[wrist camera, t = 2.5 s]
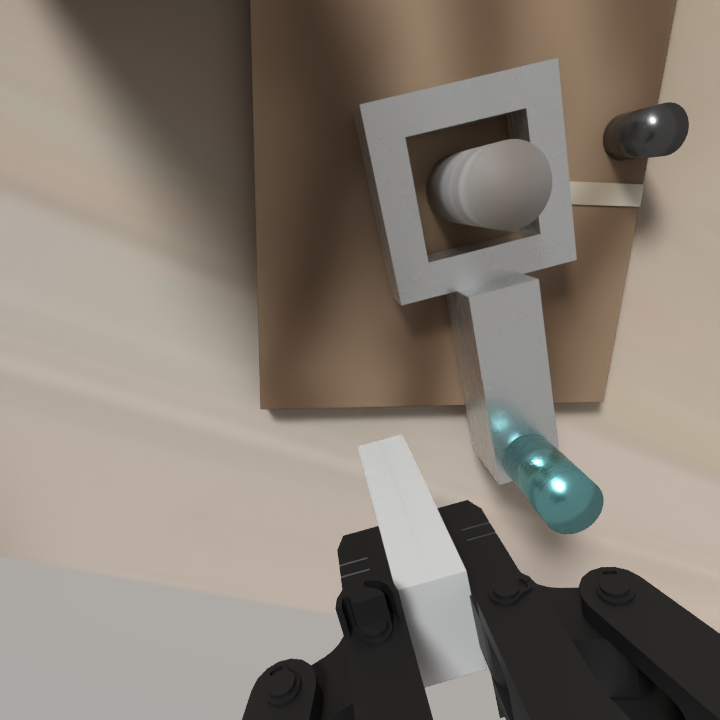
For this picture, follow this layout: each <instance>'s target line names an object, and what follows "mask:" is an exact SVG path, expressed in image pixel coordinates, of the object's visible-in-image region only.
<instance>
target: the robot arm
mask: <svg viewBox="0 0 720 720" xmlns="http://www.w3.org/2000/svg"><path fill="white" fill-rule="evenodd" d="M358 449H359V453H360V457H361V461H362V465H363V469H364V472H365V476H366V480H367V484H368V488H369V492H370V495H371V499H372V503H373V507H374V511H375V515H376V518H377V522H378V526H377V527H374V528H370V529H366V530H363V531H359V532H356V533H352V534H348V535H345V536H343V538H342V540H341V543H340V545H339V548H338V558H339V565H340V574H341V582H342V592H341V593H340V595H339V596H338V598H337V602H336V612H337V615H338V618H339V621H340V625H341V628H342V631H343V634H344V637H343V638H342V640H341V642H340V643H339V645H338V646H337V647H336V648H335V649H334V650H333V651H332V652H331V653H330V654H328V655H327V656H326V657H324V658H323V659H321V660H319V661H318V662H316V663H315V664H313V665H310V664H308V663H306V662H305V661H303V660H298V659H288V660H284V661H280V662H278V663H276V664H274V665H273V666H271V667H270V668H268V669H267V670H266V671H265V672H264V673H263V674H262V675H261V676H260V677H259V678H258V679H257V681H256V683H255V685H254V687H253V689H252V691H251V694H250V697H249V700H248V703H247V706H246V710H245V713H244V715H243V719H242V720H433V718H432V714H431V710H430V707H429V703H428V700H427V696H426V692H425V689H424V688H425V687H427V686H431V685H435V684H438V683H441V682H445V681H448V680H452V679H455V678H459V677H462V676H465V675H469V674H472V673H475V672H479V671H482V670H486V665H485V660H486V662H487V665H488V667H489V670H490V672H491V675H492V680H493V685H494V690H495V695H496V700H497V705H498V710H499V715H500V718H502V717H505V718H506V720H720V634H719V633H718V632H717V631H715V630H714V629H712V628H711V627H710V626H708V625H707V624H705V623H704V622H703V621H701V620H700V619H698V618H697V617H696V616H694V615H693V614H692V613H690V612H689V611H687V610H686V609H685V608H683V607H682V606H680V605H679V604H678V603H676V602H675V601H673V600H672V599H671V598H669V597H668V596H666V595H665V594H664V593H662V592H661V591H660V590H658V589H657V588H655V587H654V586H653V585H651V584H650V583H648V582H647V581H646V580H644V579H643V578H641V577H640V576H638V575H636V574H634V573H632V572H630V571H629V570H625V569H621V568H616V567H601V568H598V569H595V570H591V571H589V572H588V573H587V574H586V575H585V576H583V577H582V579H581V582H580V585H579V588H551V587H546V586H542V585H538V584H536V583H535V582H534V581H533V580H532V579H531V578H530V577H529V576H527V575H525V574H522V573H521V572H520V571H519V570H518V568H517V566H516V565H515V563H514V562H513V560H512V558H511V557H510V555H509V553H508V552H507V550H506V548H505V547H504V545H503V544H502V542H501V540H500V539H499V537H498V535H497V534H496V533H495V530H494V529H493V527H492V526H491V524H490V523H489V521H488V519H487V517H486V516H485V514H484V513H483V511H482V509H481V508H479V507H478V506H476V505H474V504H473V503H471V502H470V501H468V500H466V501H462V502H459V503H455V504H452V505H448V506H444V507H441V508H437V507H436V505H435V503H434V501H433V499H432V496H431V494H430V492H429V490H428V488H427V486H426V484H425V482H424V479H423V477H422V475H421V473H420V471H419V469H418V467H417V465H416V462H415V460H414V458H413V456H412V454H411V452H410V450H409V447H408V445H407V443H406V441H405V439H404V437H403V435H402V434H401V435H398V436H394V437H390V438H387V439H383V440H379V441H375V442H372V443H368V444H364V445H361V446H358ZM484 658H485V660H484Z"/></svg>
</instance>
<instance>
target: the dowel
mask: <svg viewBox="0 0 720 720" xmlns="http://www.w3.org/2000/svg"><path fill="white" fill-rule="evenodd" d="M688 128H689V122H688V117H687V114H686V112H685V110H684V109H683V108H682V107H681V106H680V105H678V104H676V103H663V104H659V105H655V106H651V107H647V108H643V109H639V110H635V111H631V112H627V113H623V114H620V115H617V116H616V117H614V118H613V119H612V120H611V121H610V122H609V123H608V125H607V126H606V128H605V131H604V134H603V146H604V149H605V152H606V153H607V155H608V156H609V157H611V158H612V159H614V160H619V161H622V160H631V159H641V158H650V157H659V156H666V155H670V154H672V153H673V152H675V151H676V150H678V149H679V148H680V146H681V145H682V144H683V142H684V141H685V139H686V136H687V133H688Z"/></svg>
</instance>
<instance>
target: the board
mask: <svg viewBox="0 0 720 720" xmlns="http://www.w3.org/2000/svg"><path fill="white" fill-rule="evenodd" d="M676 1H677V0H250V14H251V54H252V93H253V132H254V171H255V211H256V250H257V289H258V328H259V368H260V407H261V409H296V408H341V407H386V406H432V405H465V400H464V394H463V389H462V383H461V378H460V372H459V367H458V361H457V355H456V350H455V344H454V339H453V333H452V327H451V322H450V316H449V311H448V305H447V300H446V294H444V295H440V296H436V297H433V298H429V299H425V300H421V301H417V302H413V303H409V304H406V305H402V306H401V305H400V304H399V303H398V302H397V301H396V300H395V299H394V298H393V297H392V293H391V288H390V284H389V279H388V274H387V270H386V265H385V260H384V256H383V251H382V246H381V242H380V237H379V232H378V228H377V223H376V218H375V214H374V209H373V204H372V200H371V195H370V190H369V185H368V181H367V176H366V171H365V167H364V162H363V157H362V153H361V148H360V143H359V139H358V134H357V129H356V125H355V120H354V115H353V112H354V111H355V109H356V108H357V107H358V106H359V104H364V103H368V102H372V101H376V100H381V99H385V98H389V97H393V96H398V95H402V94H406V93H410V92H415V91H419V90H423V89H427V88H432V87H436V86H440V85H444V84H449V83H453V82H457V81H461V80H466V79H470V78H474V77H478V76H483V75H487V74H491V73H495V72H500V71H504V70H508V69H512V68H517V67H521V66H525V65H529V64H534V63H538V62H542V61H546V60H551V59H555V58H558V62H559V73H560V83H561V94H562V105H563V116H564V126H565V137H566V148H567V159H568V170H569V180H570V191H571V202H572V213H573V224H574V234H575V245H576V256H577V260H575V261H571V262H567V263H563V264H559V265H555V266H552V267H548V268H544V269H540V270H536V271H532V272H529V273H525V274H524V275H528V276H531V277H534V278H537V279H539V285H540V294H541V302H542V311H543V319H544V328H545V336H546V345H547V353H548V362H549V370H550V379H551V387H552V395H553V403H567V402H603V400H604V395H605V389H606V384H607V378H608V373H609V367H610V362H611V356H612V351H613V346H614V340H615V335H616V329H617V324H618V318H619V313H620V307H621V302H622V296H623V291H624V285H625V280H626V274H627V269H628V263H629V258H630V253H631V247H632V242H633V236H634V231H635V225H636V220H637V214H638V209H639V207H640V205H641V200H642V194H643V189H644V184H643V181H644V176H645V170H646V165H647V160H648V158H641V159H631V160H622V161H619V160H614V159H612V158H611V157H609V156H608V155H607V153H606V152H605V149H604V146H603V134H604V131H605V128H606V126H607V125H608V123H609V122H610V121H611V120H612V119H613V118H614V117H616V116H617V115H620V114H623V113H627V112H631V111H635V110H639V109H643V108H647V107H651V106H655V105H658V99H659V94H660V88H661V83H662V77H663V72H664V67H665V61H666V56H667V50H668V45H669V39H670V34H671V28H672V23H673V17H674V12H675V6H676ZM406 144H407V150H408V155H409V160H410V166H411V171H412V177H413V182H414V187H415V193H416V198H417V203H418V209H419V214H420V219H421V225H422V230H423V236H424V241H425V246H426V252H427V255H429V254H433V253H437V252H441V251H445V250H449V249H453V248H456V247H460V246H464V245H468V244H472V243H476V242H480V241H484V240H488V239H492V238H496V237H500V236H503V235H507V234H511V233H515V232H519V231H520V228H523V227H525V226H527V225H528V224H530V223H531V222H533V221H534V220H535V219H536V218H537V217H538V216H539V215H540V214H541V213H542V211H543V210H544V208H545V207H546V205H547V203H548V200H549V198H550V195H551V190H552V172H551V168H550V164H549V162H548V160H547V158H546V156H545V155H544V153H543V152H542V151H541V150H540V149H539V148H538V147H537V146H535V145H534V144H532V143H530V142H528V141H525V140H520V139H509V135H508V127H507V119H506V116H502V117H498V118H494V119H490V120H486V121H481V122H477V123H473V124H469V125H465V126H461V127H456V128H452V129H448V130H444V131H440V132H436V133H432V134H427V135H423V136H419V137H415V138H411V139H407V140H406Z"/></svg>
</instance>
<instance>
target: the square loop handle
mask: <svg viewBox="0 0 720 720" xmlns="http://www.w3.org/2000/svg"><path fill="white" fill-rule="evenodd" d="M353 115H354V120H355V125H356V129H357V134H358V139H359V143H360V148H361V153H362V157H363V162H364V167H365V171H366V176H367V181H368V185H369V190H370V195H371V200H372V204H373V209H374V214H375V218H376V223H377V228H378V232H379V237H380V242H381V246H382V251H383V256H384V260H385V265H386V270H387V274H388V279H389V284H390V288H391V293H392V297H393V298H394V299H395V300H396V301H397V302H398V303H399V304H400V305H401V306H402V305H406V304H409V303H413V302H417V301H421V300H425V299H429V298H433V297H436V296H440V295H444V294H446V300H447V305H448V311H449V316H450V322H451V327H452V333H453V339H454V344H455V350H456V355H457V361H458V367H459V372H460V378H461V383H462V389H463V394H464V400H465V406H466V411H467V417H468V422H469V428H470V434H471V439H472V445H473V450H474V452H475V453H476V454H477V456H478V457H479V458H480V460H481V461H482V462H483V464H484V465H485V466H486V468H487V469H488V470H489V472H490V473H491V474H492V476H493V477H494V478H495V480H496V481H497V482H498V484H499V485H502V484H505V483H509V482H512V481H513V482H514V483H515V485H516V486H517V487H518V488H519V490H520V491H521V492H522V493H523V495H524V496H525V497H526V498H527V500H528V501H529V502H530V503H531V505H532V506H533V507H534V508H535V510H536V511H537V512H538V513H539V515H540V516H541V517H542V518H543V520H544V521H545V522H546V523H547V524H548V526H549V527H550V528H551V529H552V530H554V531H556V532H558V533H561V534H574V533H577V532H580V531H582V530H584V529H586V528H588V527H589V526H590V525H592V524H593V523H594V522H595V520H596V519H597V518H598V516H599V515H600V513H601V511H602V507H603V494H602V492H601V490H600V488H599V487H598V486H597V485H596V484H595V483H594V482H593V481H592V480H591V479H589V478H588V477H587V476H586V475H585V474H584V473H583V472H582V471H581V470H580V469H579V468H578V467H576V466H575V465H574V464H573V463H572V462H571V461H570V460H569V459H568V458H567V457H566V456H565V455H563V454H562V453H561V452H560V451H559V446H558V438H557V429H556V421H555V412H554V404H553V395H552V387H551V379H550V370H549V362H548V353H547V345H546V336H545V328H544V319H543V311H542V302H541V294H540V285H539V279H537V278H534V277H531V276H528V275H524V274H525V273H529V272H532V271H536V270H540V269H544V268H548V267H552V266H555V265H559V264H563V263H567V262H571V261H575V260H577V256H576V245H575V234H574V224H573V213H572V202H571V191H570V180H569V170H568V159H567V148H566V137H565V126H564V116H563V105H562V94H561V83H560V73H559V62H558V58H555V59H551V60H546V61H542V62H538V63H534V64H529V65H525V66H521V67H517V68H512V69H508V70H504V71H500V72H495V73H491V74H487V75H483V76H478V77H474V78H470V79H466V80H461V81H457V82H453V83H449V84H444V85H440V86H436V87H432V88H427V89H423V90H419V91H415V92H410V93H406V94H402V95H398V96H393V97H389V98H385V99H381V100H376V101H372V102H368V103H364V104H359V106H358V107H357V108H356V109H355V111H354V112H353ZM502 116H506V119H507V127H508V135H509V139H520V140H525V141H528V142H530V143H532V144H534V145H535V146H537V147H538V148H539V149H540V150H541V151H542V152H543V153H544V155H545V156H546V158H547V160H548V162H549V164H550V168H551V172H552V190H551V195H550V198H549V200H548V203H547V205H546V207H545V208H544V210H543V211H542V213H541V214H540V215H539V216H538V217H537V218H536V219H535V220H534V221H533V222H531V223H530V224H528V225H527V226H525V227H523V228H520V231H519V232H515V233H511V234H507V235H503V236H500V237H496V238H492V239H488V240H484V241H480V242H476V243H472V244H468V245H464V246H460V247H456V248H453V249H449V250H445V251H441V252H437V253H433V254H429V255H427V252H426V246H425V241H424V236H423V230H422V225H421V219H420V214H419V209H418V203H417V198H416V193H415V187H414V182H413V177H412V171H411V166H410V160H409V155H408V150H407V144H406V140H407V139H411V138H415V137H419V136H423V135H427V134H432V133H436V132H440V131H444V130H448V129H452V128H456V127H461V126H465V125H469V124H473V123H477V122H481V121H486V120H490V119H494V118H498V117H502Z"/></svg>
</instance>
